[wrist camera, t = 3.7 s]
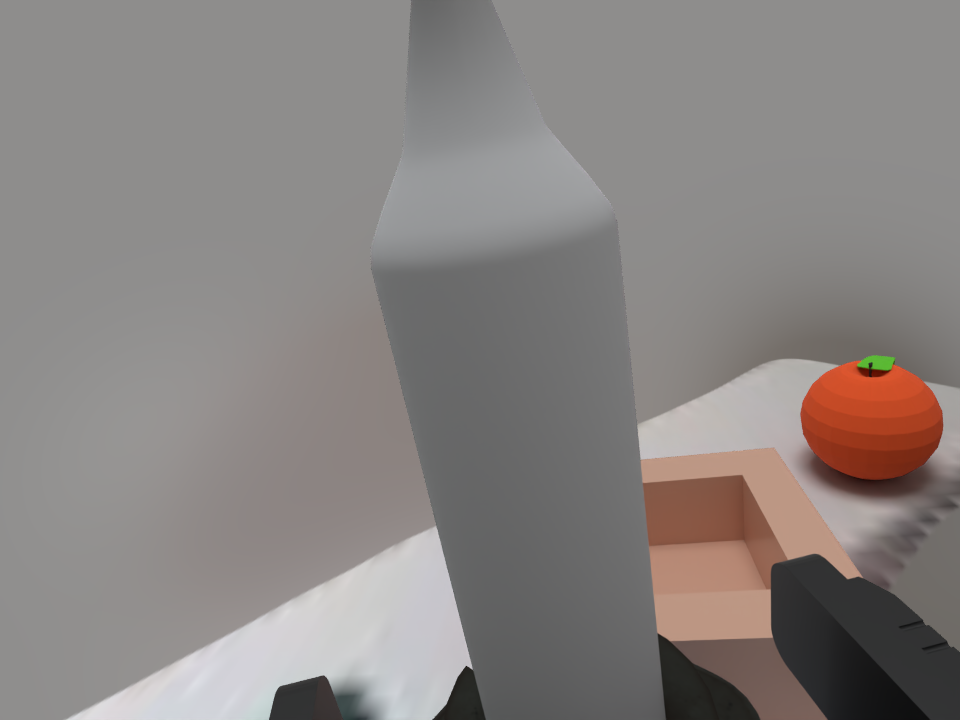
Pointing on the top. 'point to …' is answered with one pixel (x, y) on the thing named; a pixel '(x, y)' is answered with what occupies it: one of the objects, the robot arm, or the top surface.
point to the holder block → (731, 565)
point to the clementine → (872, 419)
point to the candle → (523, 395)
